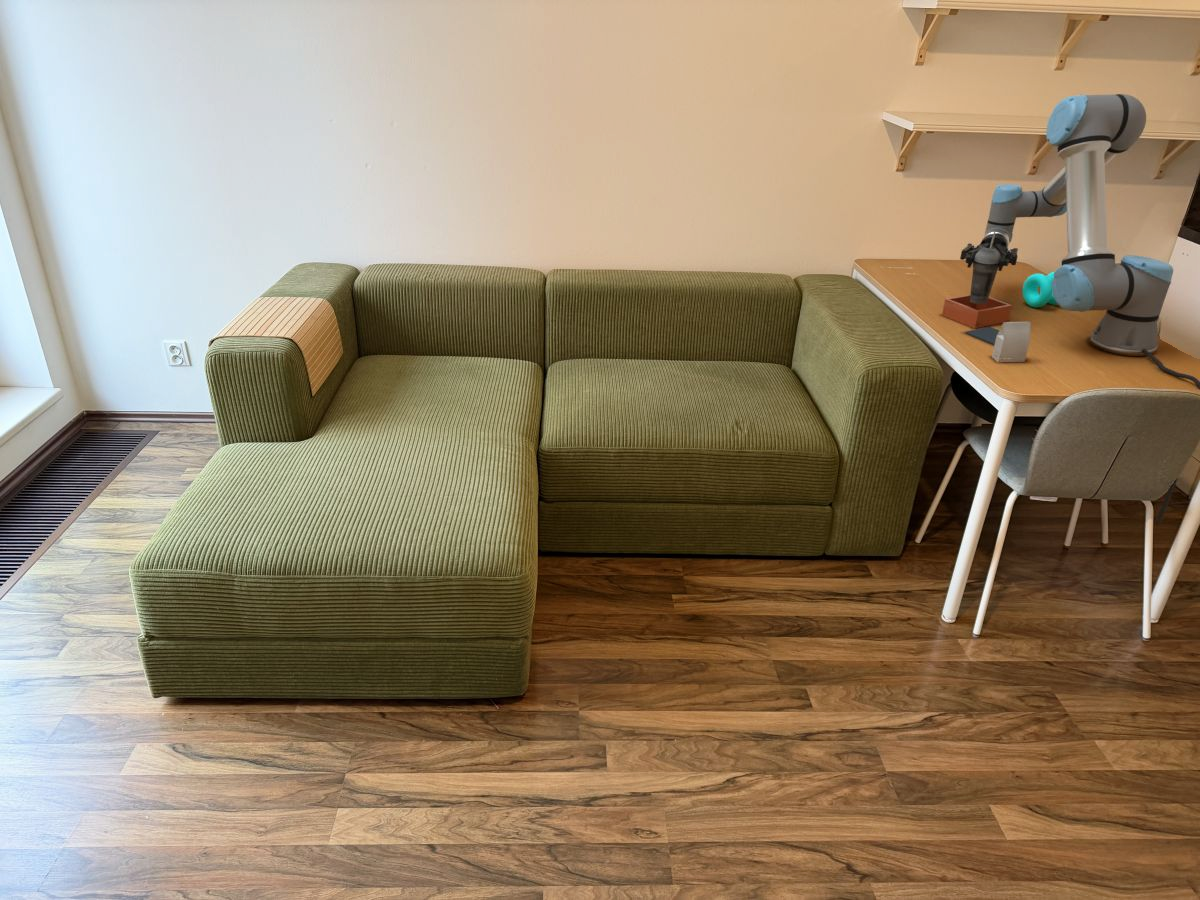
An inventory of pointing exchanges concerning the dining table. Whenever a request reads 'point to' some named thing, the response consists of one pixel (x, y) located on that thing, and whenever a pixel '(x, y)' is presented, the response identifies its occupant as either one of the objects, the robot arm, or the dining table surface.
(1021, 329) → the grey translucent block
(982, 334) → the pad
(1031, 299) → the donuts
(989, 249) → the beverage cup
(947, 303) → the open reddish-brown box
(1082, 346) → the dining table surface
